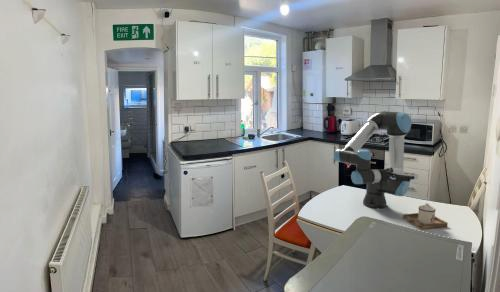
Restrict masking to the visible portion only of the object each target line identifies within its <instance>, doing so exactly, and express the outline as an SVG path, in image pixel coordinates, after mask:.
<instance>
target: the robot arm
mask: <svg viewBox="0 0 500 292" xmlns="http://www.w3.org/2000/svg"><path fill="white" fill-rule="evenodd" d="M363 123H364V124H363V126H362V127H361V128H360V129H359V130H358V132H357V133H356V134H355V135H354V136H353V137H352V138H351V139H350V140H349V141H348V142H347V143H346V144H345V146H344V147H343V148H337V149H335V151H334V154H333V158H334V159H333V160H335V162H339V163H343V164H349V165H354V166H355V170H354V171H351V174H350V178H351V181H352V183H353V184H354V185H364V184H365V185H366V191H365V195H364V197H363V199H362V204H363V205H364V206H366V207H367V208H372V209H384V208H386V207H387V199H386V196H385V194H388V195H389V194H390V195H393V196H395V197H396V196H397V197H403V196H405V195H406V194H407V192H408V190H409V188H410V182H411V180H412V181H413V180H414V181H415V180H419V177H420V176H419V174H417V173H416V174H407V175H406V174H405V172H404V162H405V161H404V156H405V154H404V153H405V136H407V135H408V133H409V132H410V131H411V127H412V119H411V116H410V115H409V114H408V113H406V112H399V111H387V110H383V111H379V112H378V111H377V112H376V113H374V114H373V115H371V116H370V117H368V118H367V119H366V120H365V121H364V122H363ZM381 130H382V131H386V135H387V136H388V138H389V139H388V143H389V144H388V145H389V146H388V168H382V169H380V168H379V169H371V162H372V161H371V160H372V153H371V151H370V150H369V149H364V148H363V149H362V147H363V146H364V144H365V143H366V142H367V141H368V140H369V139H370V138H371V137H372V136H373V134H375V133H377V132H379V131H381Z"/></svg>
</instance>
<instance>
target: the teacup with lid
mask: <svg viewBox="0 0 500 292" xmlns="http://www.w3.org/2000/svg"><path fill="white" fill-rule="evenodd" d="M436 210H437V209H436V208H435V207H433V206H431V205H430V203H425V204H423V205H419V206H418V212H417V213H418V222H419V223H421V224H424V225H425V224H434V218H435V217H436Z"/></svg>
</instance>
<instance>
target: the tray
mask: <svg viewBox="0 0 500 292" xmlns="http://www.w3.org/2000/svg"><path fill="white" fill-rule="evenodd" d="M402 219H403V220H405V221H406V222H408V223H409V224H411V225H413V226H416V228H418V227H419V229H420V230H429V229H430V230H431V229H443V228H448V222H447V221H445V220H444V219H441V218H439V217H437V216H435V218H434V224H425V225H424V224H421V223H419V222H418V212H415V213H404V214H403V215H402Z"/></svg>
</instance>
